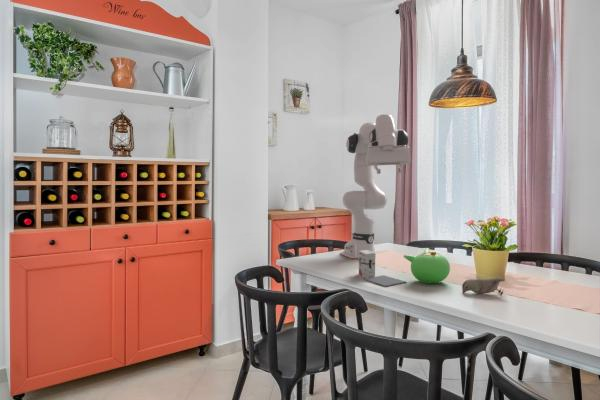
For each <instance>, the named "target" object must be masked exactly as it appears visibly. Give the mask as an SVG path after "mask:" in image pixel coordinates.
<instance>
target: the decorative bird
mask: <svg viewBox="0 0 600 400" xmlns="http://www.w3.org/2000/svg"><path fill="white" fill-rule="evenodd" d="M503 280H504V277H493V278H477V279H476V278H475V279H473V278H471V279H470V278H469V279H466V280H464V281H463V283H462V285H461V290H462V294H465V293H467V292H469V291H471V292H473V293H475V294H480V295H481V294H489V293H494V292H495V291H497V293H498V294H499V295H500V296H503V294H504V290H502V288H500V289H498V287H499V286H500V285H499V284H501V283H500V282H502V281H503Z"/></svg>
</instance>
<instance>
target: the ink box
mask: <svg viewBox="0 0 600 400" xmlns="http://www.w3.org/2000/svg"><path fill="white" fill-rule="evenodd" d="M375 253H376V252H375ZM375 253H374V252H372V251H369V250H363V251H359V258H358V275H360V276H362V277H364V279H365V278H371V277H376V257H375Z"/></svg>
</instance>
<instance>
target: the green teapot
mask: <svg viewBox="0 0 600 400" xmlns="http://www.w3.org/2000/svg"><path fill="white" fill-rule="evenodd" d="M403 258H404V259H406V260H407V261H409V262H410V271H411V274H412V275H413V277H414V278H415V279H416V280H418V281H419V282H421V283H425V284H437V283H440V282H442V281H444V280H446V278H448V276H449V274H450V272H451V265H450V263H449V261H448V259H447V258H446V257H445V255H442V254H441V253H439V252H436V251H430V250H429V248H425V249H424V251H423V253H420V254H418V255H410V254H404V255H403Z"/></svg>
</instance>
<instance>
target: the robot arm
mask: <svg viewBox="0 0 600 400" xmlns="http://www.w3.org/2000/svg"><path fill="white" fill-rule="evenodd" d="M408 144H409V136H408V133H407V132H406V131H405V130H404V129H396V128H395V122H394V117H392V115H391V114H380V115H378V116H376V118H375V123H374V122H365V123H363V124H362V125H361V126H360V128H359V133H356V132H354V133H353V134H352V135H349V137H347V140H346V143H345V145H346V146H345V147H346V150H347V152H348V153H351V154H355V155H354V161H353V175H354V177H353V178H354V183H356V185H358V186H359V187H362V188H363V190H350V191H347V192H345V193H344V195H343V197H342V204H343V206H344V208H346V209H347V210H348V211H349V212H350V213H351V215H352V217H353V223H354V232H353V233H351V235H352V238H351V239H349V241H347V242H346V243H345V244H344V249H343V251H340V253H339V254H340V255H342V256H345V257H348V258H350V259H359V251H363V250H369V251H372V252H374V253H375V258H376V255H377V254H376V248H375V242H374V240H375V233H374V232H375V231H374V229H375V228H374V226H375V224H374V222H375V221H374V219H373V218H372V217H371V216H369V215H367V214H366V213H365V210H380V209H383V208H385V207H386V205H387V202H388V198H387V195H386V194H385V192H384V191H382V190H381V189H380V188H379V187H378V186H377V184H376V182H375V178H374V169H375V171H376V174H377V175H380V174H381V173H382V172H381V168H378V166H397V165H398V166H399V168H397V173H398V174H402V171H403V170H402V168H403V166H405V165H409V164H410V163H411V160H412V159H411V158H412V157H411V154H410V153H411V149H410V146H408Z"/></svg>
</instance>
